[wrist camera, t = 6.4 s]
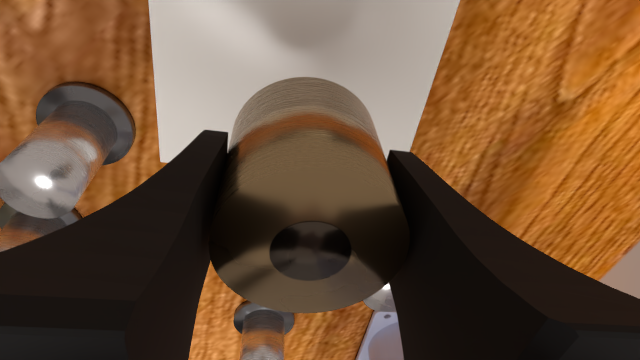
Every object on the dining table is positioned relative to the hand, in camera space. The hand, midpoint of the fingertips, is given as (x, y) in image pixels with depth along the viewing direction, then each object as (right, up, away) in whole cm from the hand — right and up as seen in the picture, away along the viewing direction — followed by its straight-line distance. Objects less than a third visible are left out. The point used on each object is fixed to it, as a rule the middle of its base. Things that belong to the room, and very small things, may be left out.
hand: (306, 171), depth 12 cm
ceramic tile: (-1, +6, +8) cm, 10 cm away
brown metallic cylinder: (0, +1, +1) cm, 1 cm away
